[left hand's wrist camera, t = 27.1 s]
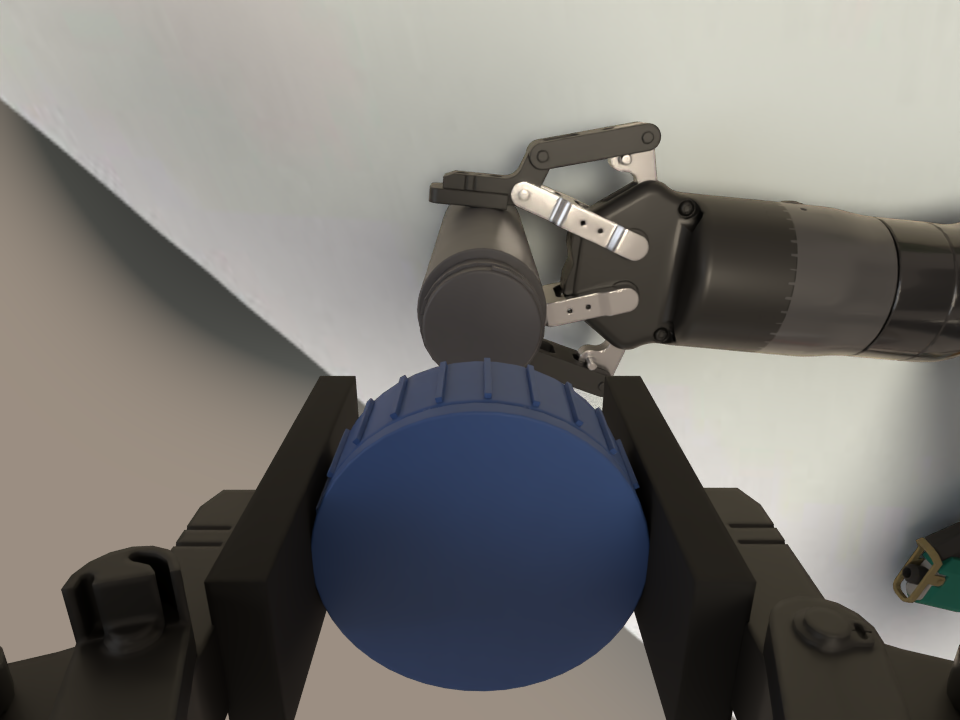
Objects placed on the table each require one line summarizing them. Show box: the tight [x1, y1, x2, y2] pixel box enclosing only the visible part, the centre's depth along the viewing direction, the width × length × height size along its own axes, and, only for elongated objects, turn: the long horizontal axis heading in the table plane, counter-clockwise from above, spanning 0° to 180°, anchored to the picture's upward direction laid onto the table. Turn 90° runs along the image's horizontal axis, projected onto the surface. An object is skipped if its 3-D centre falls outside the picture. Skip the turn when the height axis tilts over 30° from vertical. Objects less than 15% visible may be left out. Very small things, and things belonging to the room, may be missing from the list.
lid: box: [311, 358, 650, 691], centre depth 12 cm, size 6×6×2 cm
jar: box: [417, 205, 547, 367], centre depth 31 cm, size 5×5×18 cm
